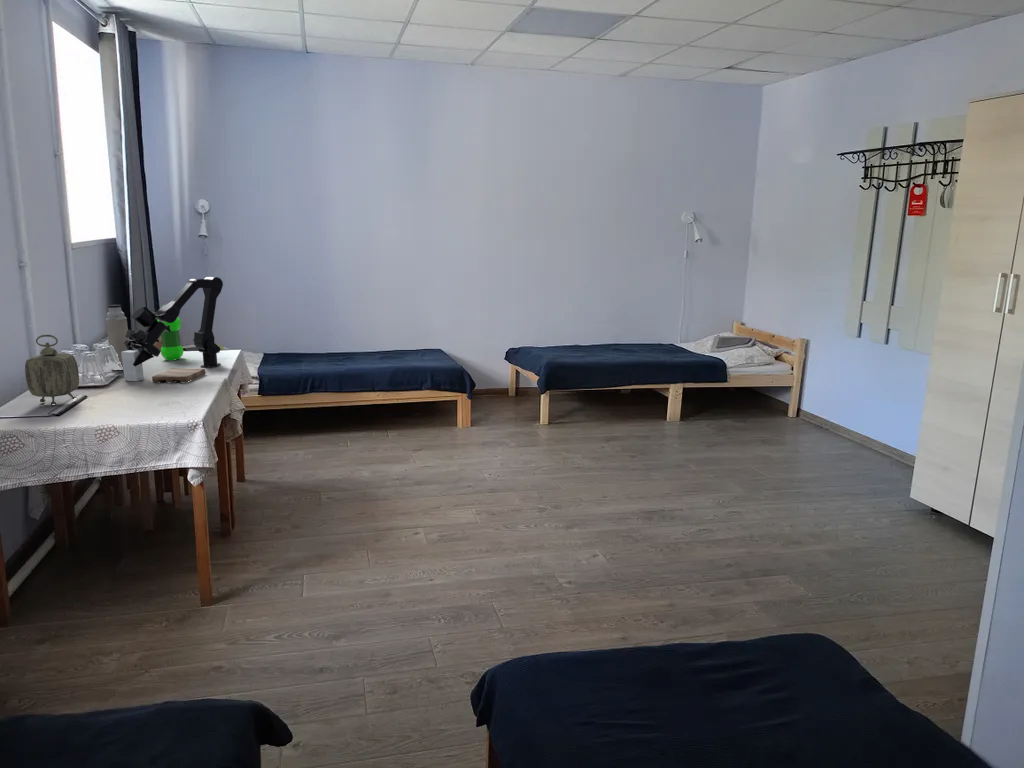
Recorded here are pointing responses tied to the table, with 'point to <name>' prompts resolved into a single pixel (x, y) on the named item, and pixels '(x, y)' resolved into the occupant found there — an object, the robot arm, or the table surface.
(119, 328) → the thermos bottle
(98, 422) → the table surface
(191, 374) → the pallet dock
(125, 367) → the skincare box
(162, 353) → the plastic bottle
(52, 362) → the tabletop clock
